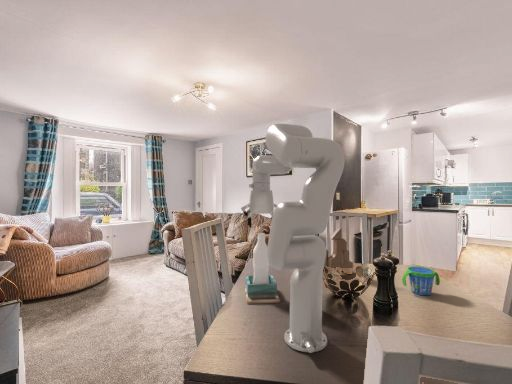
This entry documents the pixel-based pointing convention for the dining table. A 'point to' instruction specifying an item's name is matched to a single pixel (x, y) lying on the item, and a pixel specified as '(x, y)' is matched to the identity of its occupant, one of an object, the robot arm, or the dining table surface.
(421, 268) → the snack cup
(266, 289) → the bottle stand
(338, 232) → the wooden toy
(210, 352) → the dining table surface
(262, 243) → the water bottle
